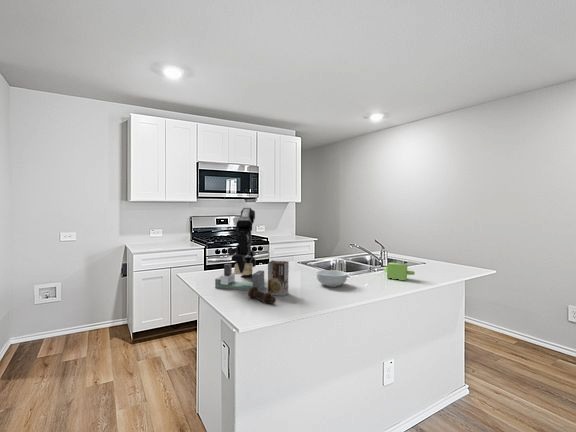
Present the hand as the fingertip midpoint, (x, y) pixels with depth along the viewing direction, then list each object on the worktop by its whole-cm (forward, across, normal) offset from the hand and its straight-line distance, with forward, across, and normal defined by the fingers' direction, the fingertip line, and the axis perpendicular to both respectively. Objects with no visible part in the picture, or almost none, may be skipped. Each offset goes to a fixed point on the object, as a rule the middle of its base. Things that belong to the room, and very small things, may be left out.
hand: (243, 271), depth 174 cm
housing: (+1, 0, 0) cm, 1 cm away
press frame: (+8, 0, -2) cm, 9 cm away
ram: (+7, 0, -9) cm, 11 cm away
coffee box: (+9, +6, +21) cm, 24 cm away
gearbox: (+9, -47, +83) cm, 96 cm away
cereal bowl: (+9, -19, +45) cm, 50 cm away
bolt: (+9, +20, +17) cm, 28 cm away
